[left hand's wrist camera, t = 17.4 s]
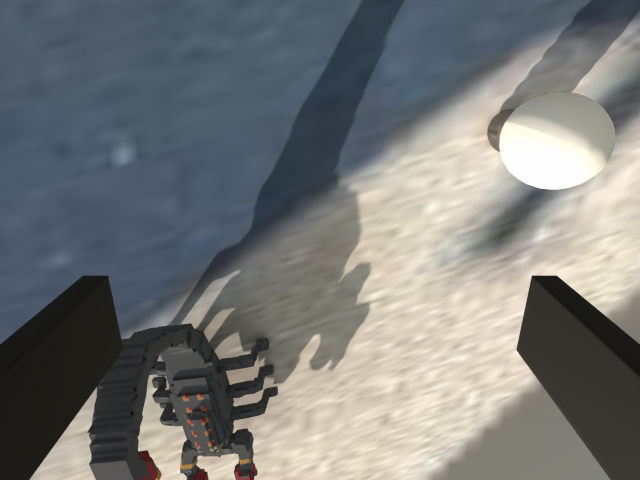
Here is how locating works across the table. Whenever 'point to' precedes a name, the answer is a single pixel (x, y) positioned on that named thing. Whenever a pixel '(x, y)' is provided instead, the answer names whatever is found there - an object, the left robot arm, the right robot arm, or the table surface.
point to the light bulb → (554, 139)
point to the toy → (174, 404)
